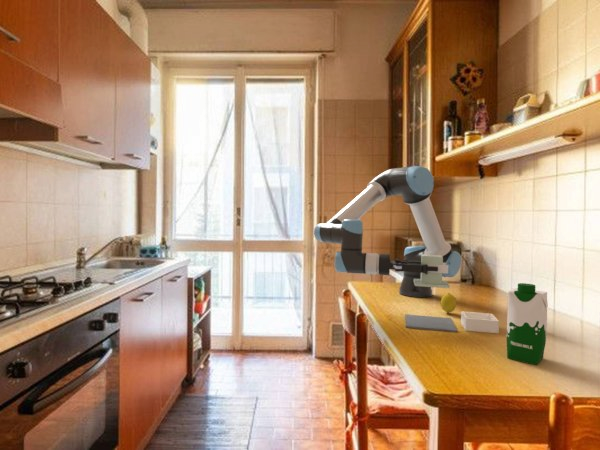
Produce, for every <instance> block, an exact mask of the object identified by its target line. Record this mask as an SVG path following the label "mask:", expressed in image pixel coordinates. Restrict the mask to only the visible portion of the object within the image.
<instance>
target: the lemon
mask: <svg viewBox="0 0 600 450" xmlns="http://www.w3.org/2000/svg"><path fill="white" fill-rule="evenodd" d="M440 306H441V309H442V310H443V311H444V312H445V313H447V314H450V313H451V312H454V311H455V310H456V307H457V300H456V297H455V296H454V295H453V294H451V293H450V292H447V293H445V294H444V295H443V296H442V297H441V299H440Z"/></svg>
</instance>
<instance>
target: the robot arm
mask: <svg viewBox="0 0 600 450" xmlns="http://www.w3.org/2000/svg"><path fill="white" fill-rule="evenodd" d="M434 180H435V179H434V176H433V174H432V172H431V171H430V170H429V169H428V168H427V167H424V166H422V165H420V166H418V165H412V166H405V167H393V168H389V169H387V170H385V171H383V172H381V173H380V174H378V175H377V176H375V177H374V178H372V180H371V181H369V182H368V183H367V185H366V188H365V189H364V190H363V191H362V192H360V193H359V194H358V195H357V196H356V197H355V198H353V199H352V200H351V201H349V203H348V204H347V205H345V206H344V207H343V208H341V210H339V211H338V212H337V213H336V214H335V215H333V216H332V217H331V218H330V219H329V220H328V221H326V222H322V223H321V222H320V223H318V224H316V226H315V227H314V230H313V232H314V233H313V234H314V238H315V239H316V241H317V242H320V243H325V244H335V245H340V246H341V247H340V248H341V249H340V250H339V251H336V252H335V255H334V269H335V271H336V272H339V273H345V274H359V275H360V274H363V275H368V276H369V277H371V276H372V275H377V274H378V275H379V276H389V275H390V270H394V272H403V278H402V280H401V283H400V286H399V289H398V290H399V291H398V292H399V294H400V295H402V296H406V297H414V298H429V297H432V296H433V289H432V287H423V286H415V284H414V279H420V275H421V273H425V274H428V272H430V273H442V278H454V277H456V275H457V274H458V273H459V271H460V268H461V265H462V256H461V254H460V252H458V251H456V250H453V248H452V246H451V244H450V243H449V242H447V241H446V239H445V236H444V234H443V232H442V229H441V226H440V223H439V221H438V217H437V215H436V212H435V210H434V207H433V204H432V201H431V199H430V197H431V195H432V192H433V190H434V186H435V185H434V182H435V181H434ZM394 196H397V197H399V196H401V198H402V200H403V202H404V204H406V205H409V208H410V210H411V213H412V216H413V218H414V221H415V223H416V226H417V228H418V230H419V234H420V236H421V239H422V242H423V245H417V246H416V245H415V246H406V247H405V248H404V252H403V259H399V258H395V260H391V255H390V254H388V253H380V254H379V253H375V252H363V236H364V235H363V234H364V230H363V227H364V226H363V221H362V220H361V218H362V217H363V216H364V215H365V214H366V213H368V212H369V211H370V209H372V208H373V207H375V205H377V203H379V202H382V201H384V200H386V199H387V198H389V197H394ZM421 254H427V255H441V256H442V257H443V265H435V264H428V265H427V264H425V265H424V264H421Z"/></svg>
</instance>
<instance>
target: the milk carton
mask: <svg viewBox="0 0 600 450" xmlns="http://www.w3.org/2000/svg"><path fill="white" fill-rule="evenodd" d="M507 300H508V301H507V316H506V317H507V318H506V321H507V322H506V355H507V356H506V357H507V359H510V360H512V361H513V360H514V361H517V362H518V361H519V362H522V363H526V364H530V365H535V366H538V365H539V364H540V362H541V361H542V359H544V355H545V354H544V353H545V349H546V342H547V325H548V323H547V322H548V291H542V290H536V285H535V284H532V283H525V282H523V283H522V282H521V283H518V284H517V287H516V288H512V289H511V290H508V296H507Z"/></svg>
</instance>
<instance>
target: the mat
mask: <svg viewBox="0 0 600 450" xmlns="http://www.w3.org/2000/svg"><path fill="white" fill-rule="evenodd" d="M404 316H405V317H404V318H405V328H408V329H416V330H417V329H418V330H419V329H420V330H428V331H429V330H430V331H439V332H440V331H441V332H448V333H449V332H452V333H458V329H457V327H456V325H455V324H454V322H453V319H452V317H445V316H444V317H441V316H429V315H428V316H427V315H418V314H417V315H416V314H406V313H405V314H404Z"/></svg>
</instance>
